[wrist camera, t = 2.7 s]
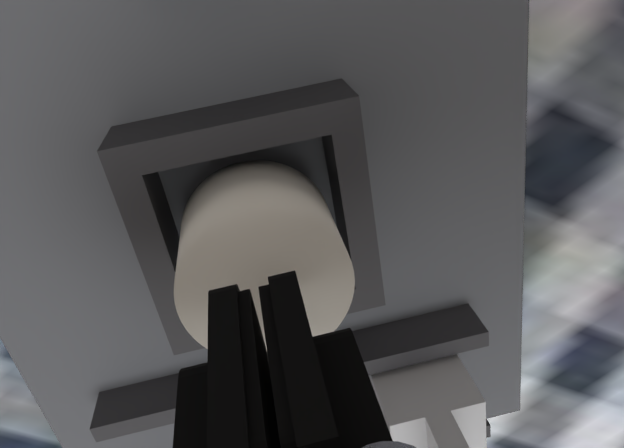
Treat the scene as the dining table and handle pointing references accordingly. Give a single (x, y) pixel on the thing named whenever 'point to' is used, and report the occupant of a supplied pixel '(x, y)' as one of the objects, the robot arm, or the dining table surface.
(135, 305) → the control panel
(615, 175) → the dining table surface
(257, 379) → the robot arm
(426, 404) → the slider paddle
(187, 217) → the push button
